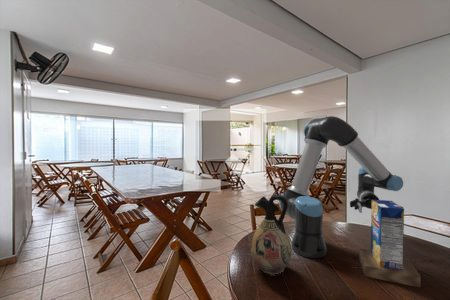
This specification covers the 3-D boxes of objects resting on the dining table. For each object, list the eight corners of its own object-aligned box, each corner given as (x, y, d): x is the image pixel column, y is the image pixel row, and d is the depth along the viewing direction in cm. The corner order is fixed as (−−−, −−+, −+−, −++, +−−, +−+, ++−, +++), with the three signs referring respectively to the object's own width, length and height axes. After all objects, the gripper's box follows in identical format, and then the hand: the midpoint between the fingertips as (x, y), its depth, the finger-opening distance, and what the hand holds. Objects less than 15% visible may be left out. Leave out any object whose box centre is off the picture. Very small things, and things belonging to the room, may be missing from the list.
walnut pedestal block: (364, 276, 79) (365, 265, 79) (358, 257, 92) (358, 248, 92) (420, 287, 73) (420, 276, 73) (405, 265, 86) (405, 255, 86)
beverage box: (380, 267, 78) (381, 207, 78) (370, 252, 89) (371, 199, 88) (402, 270, 76) (404, 208, 75) (390, 255, 86) (391, 200, 86)
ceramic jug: (247, 277, 79) (246, 196, 78) (254, 256, 94) (254, 188, 93) (295, 286, 74) (296, 200, 73) (295, 262, 89) (296, 190, 88)
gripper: (399, 210, 106) (416, 225, 87) (341, 204, 116) (345, 216, 97) (399, 195, 106) (417, 206, 87) (342, 190, 116) (346, 199, 97)
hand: (379, 211), depth 92 cm, fingers open, 13 cm apart
